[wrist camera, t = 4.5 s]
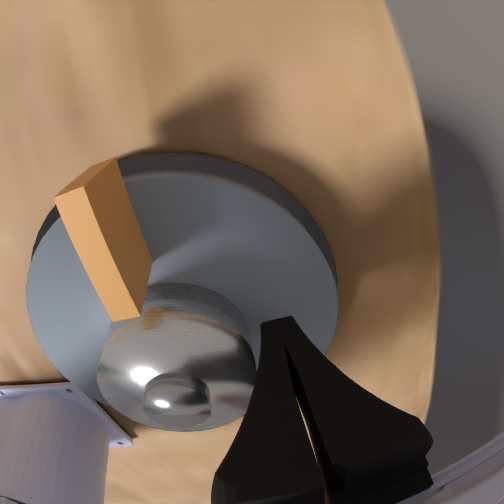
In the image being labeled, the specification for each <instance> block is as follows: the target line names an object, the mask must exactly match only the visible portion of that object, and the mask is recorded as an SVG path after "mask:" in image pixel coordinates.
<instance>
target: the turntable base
mask: <svg viewBox="0 0 504 504" xmlns="http://www.w3.org/2000/svg"><path fill="white" fill-rule="evenodd" d="M117 163H118V166H119V169H120V172H121V175H122V177H123V176H127V175H131V174H135V173H139V172H143V171H152V170H163V169H181V170H197V171H202V172H207V173H212V174H217V175H222V176H225V177H228V178H231V179H233V180H236V181H239V182H242V183H245V184H247V185H249V186H251V187H253V188H255V189H257V190H259V191H261V192H263V193H265V194H267V195H268V196H269V197H271V198H272V199H274V200H275V201H276V202H278V203H279V204H281V205H282V206H283V207H285V208H286V209H287V210H288V211H289V212H290V213H291V214H292V215H293V216H294V217H295V218H296V219H297V220H299V221H300V222H301V224H302V225H303V226H304V228H305V229H306V230H307V232H308V233H309V234H310V236H311V237H312V238H313V240H314V241H315V243H316V244H317V246H318V247H319V249H320V250H321V252H322V254H323V256H324V257H325V259H326V261H327V263H328V265H329V267H330V269H331V272H332V275H333V278H334V281H335V285H336V289H337V275H336V268H335V262H334V259H333V256H332V252H331V249H330V246H329V244H328V242H327V240H326V238H325V236H324V234H323V232H322V230H321V228H320V227H319V226H318V224H317V223H316V221H315V220H314V219H313V217H312V216H311V215H310V213H309V212H308V211H307V209H306V208H305V207H304V206H303V205H302V204H301V203H300V202H299V201H298V200H297V199H296V198H295V197H294V196H293V195H292V194H291V193H290V192H289V191H288V190H287V189H285V188H284V187H282V186H281V185H280V184H278V183H277V182H276V181H274V180H273V179H272V178H270V177H268V176H266V175H265V174H263V173H261V172H259V171H257V170H255V169H253V168H251V167H249V166H247V165H244V164H241V163H239V162H236V161H233V160H230V159H227V158H224V157H220V156H215V155H210V154H205V153H200V152H186V151H164V152H153V153H145V154H141V155H137V156H133V157H129V158H125V159H121V160H119V161H117ZM60 216H61V215H60V213H59V211H58V208H57V206H56V205H55V206H54V208H53V209H52V210H51V211H50V213H49V214H48V215H47V217H46V219H45V221H44V223H43V225H42V227H41V228H40V230H39V232H38V235H37V238H36V241H35V244H34V247H33V252H32V258H33V255H34V253H35V251H36V249H37V247H38V245H39V243H40V241H41V239H42V238H43V237H44V235H45V234H46V233H47V231H48V230H49V229H50V228H51V226H52V225H53V224H54V223H55V222H56V220H57V219H58V218H59V217H60ZM32 258H31V261H32Z"/></svg>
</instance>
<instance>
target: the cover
mask: <svg viewBox="0 0 504 504" xmlns="http://www.w3.org/2000/svg"><path fill="white" fill-rule="evenodd" d="M256 374H257V368H256V363H255V358H254V353H253V348H252V343H251V337H250V332H249V327H248V324H247V321H246V319H245V317H244V316H243V314H242V312H241V311H240V310H239V309H238V307H237V306H236V305H234V304H233V303H232V302H231V301H230V300H228V299H227V298H226V297H224V296H223V295H221V294H219V293H217V292H215V291H213V290H210V289H208V288H205V287H201V286H198V285H193V284H187V283H161V284H155V285H151V286H148V287H147V290H146V294H145V298H144V303H143V308H142V312H141V316H140V317H135V318H131V319H126V320H121V321H116V322H113V321H112V320H111V323H110V326H109V330H108V333H107V336H106V340H105V343H104V347H103V351H102V354H101V358H100V362H99V365H98V369H97V383H98V387H99V389H100V391H101V393H102V395H103V397H104V398H105V399H106V401H107V402H108V403H109V404H110V405H111V406H112V407H113V408H114V409H116V410H117V411H118V412H120V413H121V414H123V415H124V416H126V417H128V418H129V419H131V420H133V421H136V422H138V423H140V424H143V425H146V426H149V427H153V428H157V429H162V430H168V431H180V432H191V431H202V430H208V429H213V428H216V427H220V426H223V425H226V424H228V423H230V422H232V421H234V420H236V419H238V418H239V417H241V416H242V415H244V414H245V413H246V410H247V408H248V405H249V401H250V398H251V395H252V391H253V388H254V383H255V379H256Z"/></svg>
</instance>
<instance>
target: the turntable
mask: <svg viewBox="0 0 504 504" xmlns="http://www.w3.org/2000/svg"><path fill="white" fill-rule="evenodd" d="M54 201H55V203H56V206H57V208H58V211H59V213H60V215H61V216H60V217H59V218H58V219H57V220H56V222H55V223H54V224H53V225H52V226H51V228H50V229H49V230H48V231H47V233H46V234H45V235H44V237H43V238H42V239H41V241H40V243H39V245H38V247H37V249H36V251H35V253H34V255H33V258H32V261H31V264H30V267H29V271H28V277H27V285H26V299H27V309H28V314H29V319H30V322H31V325H32V328H33V331H34V333H35V336H36V338H37V340H38V342H39V344H40V346H41V347H42V349H43V351H44V352H45V354H46V355H47V357H48V358H49V360H50V361H51V362H52V363H53V365H54V366H55V367H56V368H57V369H58V370H59V371H60V373H61V374H62V375H63V376H64V377H66V378H67V379H68V380H69V381H70V382H71V383H72V384H73V385H75V386H76V387H77V388H79V389H80V390H81V391H83V392H84V393H85V394H87V395H88V396H90V397H92V398H93V399H95V400H97V401H98V402H100V403H102V404H104V405H106V406H108V407H110V408H113V407H112V406H111V405H110V404H109V403H108V402H107V401H106V399H105V398H104V397H103V395H102V393H101V391H100V389H99V387H98V383H97V369H98V365H99V362H100V358H101V354H102V351H103V347H104V343H105V340H106V336H107V333H108V330H109V326H110V323H111V320H112V321H113V322H116V321H121V320H126V319H131V318H135V317H140V316H141V312H142V308H143V303H144V298H145V294H146V290H147V287H148V286H151V285H155V284H161V283H187V284H193V285H198V286H201V287H205V288H208V289H210V290H213V291H215V292H217V293H219V294H221V295H223V296H224V297H226V298H227V299H228V300H230V301H231V302H232V303H233V304H234V305H236V306H237V307H238V309H239V310H240V311H241V312H242V314H243V316H244V317H245V319H246V321H247V324H248V327H249V332H250V337H251V343H252V348H253V353H254V358H255V363H256V368H257V369H258V363H259V356H260V347H261V329H260V325H261V323H262V322H266V321H270V320H274V319H278V318H282V317H286V316H290V315H291V316H293V317H294V319H295V320H296V322H297V324H298V325H299V326H300V328H301V329H302V331H303V332H304V333H305V334H306V336H307V337H308V338H309V339H310V340H311V342H312V343H313V344H314V345H315V346H316V347H317V348H318V349H319V350H320V352H321V353H322V354H323V355H324V356H325V354H326V352H327V351H328V349H329V347H330V344H331V341H332V339H333V336H334V333H335V329H336V324H337V320H338V297H337V289H336V285H335V281H334V278H333V275H332V272H331V269H330V267H329V265H328V263H327V261H326V259H325V257H324V256H323V254H322V252H321V250H320V249H319V247H318V246H317V244H316V243H315V241H314V240H313V238H312V237H311V236H310V234H309V233H308V232H307V230H306V229H305V228H304V226H303V225H302V224H301V222H300V221H299V220H297V219H296V218H295V217H294V216H293V215H292V214H291V213H290V212H289V211H288V210H287V209H286V208H285V207H283V206H282V205H281V204H279V203H278V202H276V201H275V200H274V199H272V198H271V197H269V196H268V195H267V194H265V193H263V192H261V191H259V190H257V189H255V188H253V187H251V186H249V185H247V184H245V183H242V182H239V181H236V180H233V179H231V178H228V177H225V176H222V175H217V174H212V173H207V172H202V171H197V170H181V169H163V170H152V171H143V172H139V173H135V174H131V175H127V176H123V177H122V175H121V172H120V169H119V166H118V163H117V160H116V158H113V159H110V160H107V161H104V162H101V163H99V164H96V165H93V166H91V167H90V168H88V169H87V170H86V171H85V172H83V173H82V174H81V175H80V176H78V177H77V178H76V179H75V180H74V181H72V182H71V183H70V184H69V185H68V186H66V187H65V188H64V189H63V190H62V191H61V192H59V193H58V194H57V195H56V196H55V197H54ZM113 409H114V408H113ZM115 410H116V409H115ZM242 416H245V414H244V415H242Z"/></svg>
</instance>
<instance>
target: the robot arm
mask: <svg viewBox="0 0 504 504" xmlns="http://www.w3.org/2000/svg"><path fill="white" fill-rule="evenodd" d="M260 329H261V347H260V356H259V363H258V369H257V374H256V379H255V383H254V388H253V391H252V395H251V398H250V401H249V405H248V408H247V410H246V413H245V416H244V418H243V421H242V423H241V426H240V428H239V430H238V433H237V435H236V437H235V439H234V441H233V443H232V445H231V447H230V449H229V451H228V452H227V454H226V456H225V458H224V459H223V461H222V463H221V464H220V466H219V467H218V469H217V471H216V472H215V475H214V480H213V484H212V491H211V504H325V493H326V497H327V501H328V504H412V503H414V502H417V501H419V500H421V499H423V498H425V497H427V496H429V495H431V494H433V493H435V492H437V491H439V492H437V493H435V494H434V495H432V496H430V497H428V498H427V499H425V500H423V501H421V502H419V503H418V504H496V503H498V502H499V501H500V500H502V499H503V498H504V432H503V433H502V434H501V435H499V436H498V437H497V438H495V439H493V440H492V441H490V442H489V443H487V444H486V445H484V446H483V447H481V448H479V449H478V450H476V451H475V452H473V453H471V454H470V455H468V456H466V457H465V458H463V459H462V460H460V461H458V462H456V463H454V464H452V465H450V466H449V467H447V468H445V469H443V470H441V471H439V472H437V473H435V474H433V475H431V476H430V473H429V471H428V469H427V466H428V462H427V460H426V457H425V455H426V454H427V453H428V451H429V450H430V448H431V446H432V444H433V439H432V436H431V434H430V433H429V431H428V430H427V428H426V427H425V425H424V424H423V423H422V422H421V421H420V419H419V418H418V417H415V416H413V415H411V414H408V413H406V412H404V411H402V410H400V409H398V408H396V407H394V406H392V405H390V404H388V403H386V402H385V401H383V400H381V399H380V398H378V397H376V396H375V395H373V394H372V393H370V392H368V391H367V390H365V389H364V388H362V387H361V386H360V385H358V384H357V383H355V382H354V381H353V380H351V379H350V378H349V377H348V376H346V375H345V374H344V373H343V372H342V371H340V370H339V369H338V368H337V367H336V366H335V365H334V364H333V363H332V362H330V361H329V360H328V359H327V358H326V357H325V356H324V355H323V354H322V353H321V352H320V350H319V349H318V348H317V347H316V346H315V345H314V344H313V343H312V342H311V340H310V339H309V338H308V337H307V336H306V334H305V333H304V332H303V331H302V329H301V328H300V326H299V325H298V324H297V322H296V320H295V319H294V317H293V316H291V315H290V316H286V317H282V318H278V319H274V320H270V321H266V322H262V323H261V325H260ZM295 395H296V396H295ZM296 398H297V399H296ZM297 400H298V402H297ZM298 403H299V405H298ZM299 406H300V408H301V411H302V413H303V416H304V418H305V421H306V424H307V427H308V430H309V434H310V437H311V441H312V444H313V448H314V452H315V455H316V458H315V455H314V452H313V449H312V446H311V443H310V440H309V437H308V434H307V431H306V427H305V424H304V421H303V418H302V415H301V412H300V408H299ZM132 444H133V440H132V439H131V438H130V437H129V436H128V435H127V434H126V433H125V432H124V431H123V430H122V429H121V428H120V427H119V426H118V425H117V424H116V423H115V422H114V420H113V419H112V418H111V417H110V416H109V415H108V414H107V413H106V412H105V411H104V410H103V409H102V408H101V407H100V405H99V404H98V403H97V402H96V401H95V400H94V399H93V398H92V397H90V396H88V395H87V394H85V393H84V392H83V391H81V390H80V389H79V388H77V387H76V386H75V385H73V384H72V383H71V382H62V383H48V384H32V385H8V386H0V504H104V494H105V482H106V471H107V462H108V453H109V446H131V445H132ZM316 459H317V461H316ZM317 463H318V464H317ZM318 466H319V467H318Z"/></svg>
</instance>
